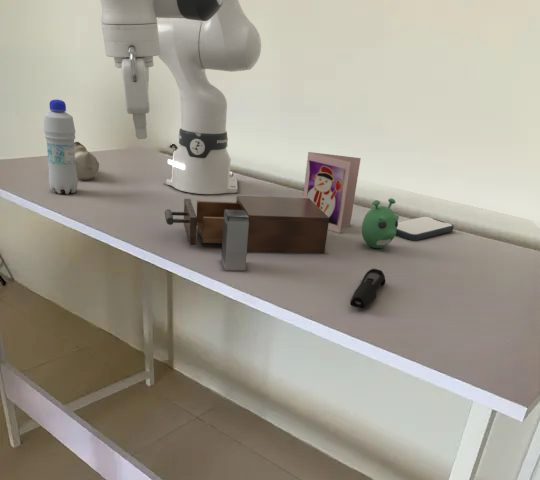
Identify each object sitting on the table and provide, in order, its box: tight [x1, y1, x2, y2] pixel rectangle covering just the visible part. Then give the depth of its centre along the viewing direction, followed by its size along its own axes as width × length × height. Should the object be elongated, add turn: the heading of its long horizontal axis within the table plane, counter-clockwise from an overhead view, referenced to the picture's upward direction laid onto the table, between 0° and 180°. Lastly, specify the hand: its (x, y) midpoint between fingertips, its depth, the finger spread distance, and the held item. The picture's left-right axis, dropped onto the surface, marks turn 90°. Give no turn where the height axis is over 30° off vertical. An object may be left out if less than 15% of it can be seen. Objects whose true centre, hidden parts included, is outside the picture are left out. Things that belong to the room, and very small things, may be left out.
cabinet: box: [235, 195, 329, 254], centre depth 121 cm, size 16×15×7 cm
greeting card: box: [302, 151, 362, 234], centre depth 133 cm, size 11×7×15 cm, turn 47°
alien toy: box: [361, 197, 400, 249], centre depth 122 cm, size 7×8×10 cm
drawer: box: [164, 198, 243, 246], centre depth 118 cm, size 19×13×5 cm
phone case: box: [396, 216, 455, 241], centre depth 138 cm, size 9×2×16 cm
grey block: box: [221, 210, 249, 272], centre depth 105 cm, size 4×4×10 cm
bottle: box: [43, 99, 79, 195], centre depth 136 cm, size 7×7×20 cm
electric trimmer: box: [349, 268, 386, 309], centre depth 99 cm, size 4×16×3 cm, turn 159°
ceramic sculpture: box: [74, 141, 100, 181], centre depth 154 cm, size 11×9×15 cm
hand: (141, 132), depth 106 cm, fingers open, 8 cm apart
